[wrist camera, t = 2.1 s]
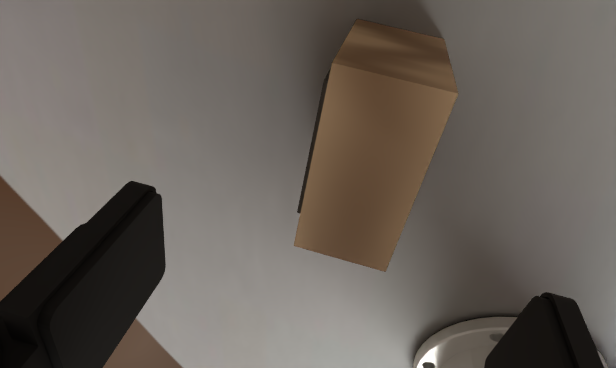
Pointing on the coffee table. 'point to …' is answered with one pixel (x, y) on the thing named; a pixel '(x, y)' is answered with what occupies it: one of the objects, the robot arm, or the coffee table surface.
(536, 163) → the coffee table surface
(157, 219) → the robot arm
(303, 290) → the coffee table surface
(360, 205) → the block
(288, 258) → the coffee table surface
